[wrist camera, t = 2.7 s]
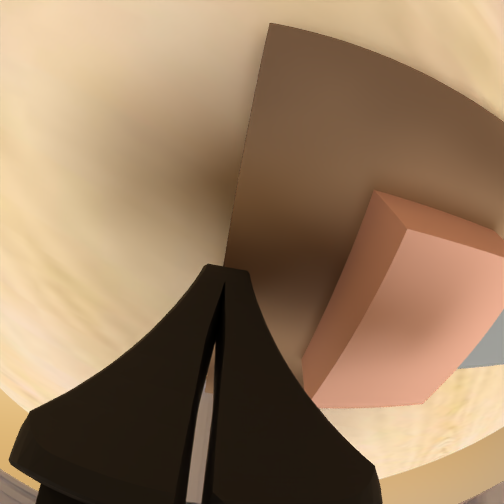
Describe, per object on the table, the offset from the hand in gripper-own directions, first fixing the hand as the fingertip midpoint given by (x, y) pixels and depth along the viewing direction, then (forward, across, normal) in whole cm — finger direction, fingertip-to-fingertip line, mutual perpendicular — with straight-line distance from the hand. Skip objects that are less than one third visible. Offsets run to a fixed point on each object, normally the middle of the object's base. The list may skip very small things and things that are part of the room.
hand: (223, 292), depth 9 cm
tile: (+1, -7, 0) cm, 7 cm away
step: (+4, -7, 0) cm, 8 cm away
